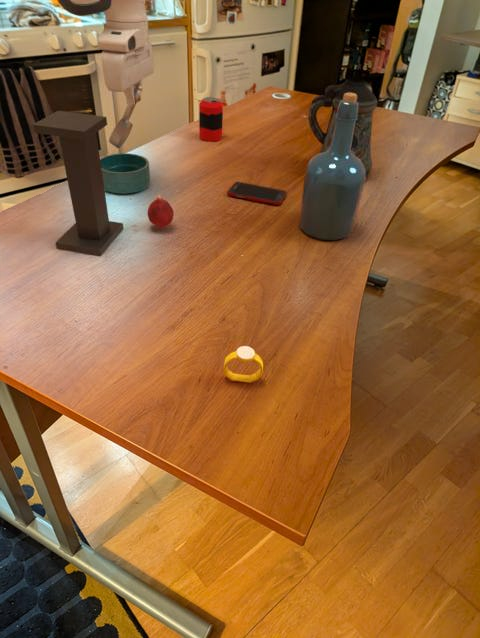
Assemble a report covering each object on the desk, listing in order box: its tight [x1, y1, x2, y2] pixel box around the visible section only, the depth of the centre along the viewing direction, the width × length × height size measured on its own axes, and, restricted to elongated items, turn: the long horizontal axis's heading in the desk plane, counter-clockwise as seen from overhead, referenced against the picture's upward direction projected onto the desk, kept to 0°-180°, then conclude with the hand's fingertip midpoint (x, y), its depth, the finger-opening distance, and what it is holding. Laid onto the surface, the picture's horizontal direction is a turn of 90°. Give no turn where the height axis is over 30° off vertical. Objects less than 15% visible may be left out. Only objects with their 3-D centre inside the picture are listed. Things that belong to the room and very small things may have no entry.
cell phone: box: [226, 181, 288, 206], centre depth 122 cm, size 8×15×1 cm, turn 71°
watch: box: [222, 345, 264, 384], centre depth 70 cm, size 6×3×6 cm, turn 87°
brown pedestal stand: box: [32, 110, 124, 257], centre depth 93 cm, size 10×12×25 cm
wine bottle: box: [298, 93, 367, 241], centre depth 101 cm, size 14×13×30 cm
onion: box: [146, 194, 175, 229], centre depth 104 cm, size 6×6×8 cm
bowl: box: [100, 152, 151, 195], centre depth 121 cm, size 13×13×6 cm
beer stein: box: [307, 77, 378, 178], centre depth 129 cm, size 16×19×25 cm
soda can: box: [198, 96, 224, 143], centre depth 150 cm, size 8×8×12 cm
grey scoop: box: [108, 85, 143, 149], centre depth 111 cm, size 16×7×2 cm
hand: (134, 103), depth 109 cm, fingers closed on grey scoop, 1 cm apart
